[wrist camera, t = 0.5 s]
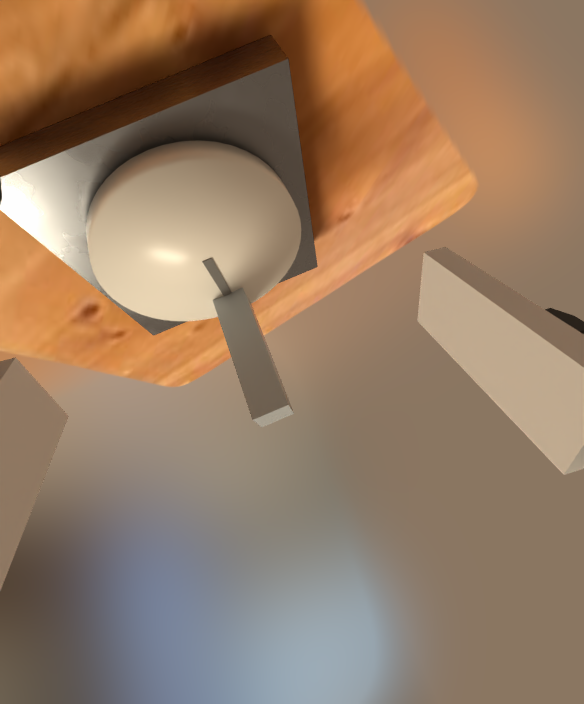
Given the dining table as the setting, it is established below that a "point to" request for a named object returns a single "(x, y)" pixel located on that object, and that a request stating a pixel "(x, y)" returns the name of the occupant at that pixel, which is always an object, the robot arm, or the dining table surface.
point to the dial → (200, 248)
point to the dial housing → (152, 131)
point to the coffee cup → (0, 192)
